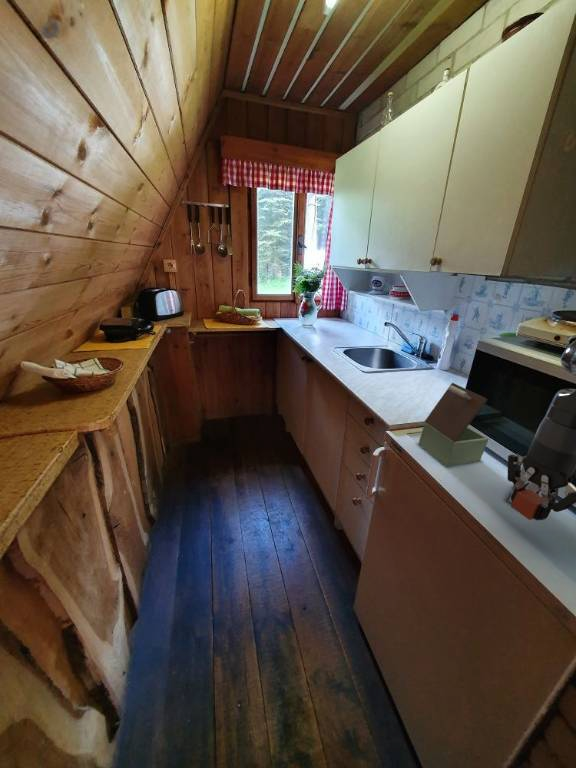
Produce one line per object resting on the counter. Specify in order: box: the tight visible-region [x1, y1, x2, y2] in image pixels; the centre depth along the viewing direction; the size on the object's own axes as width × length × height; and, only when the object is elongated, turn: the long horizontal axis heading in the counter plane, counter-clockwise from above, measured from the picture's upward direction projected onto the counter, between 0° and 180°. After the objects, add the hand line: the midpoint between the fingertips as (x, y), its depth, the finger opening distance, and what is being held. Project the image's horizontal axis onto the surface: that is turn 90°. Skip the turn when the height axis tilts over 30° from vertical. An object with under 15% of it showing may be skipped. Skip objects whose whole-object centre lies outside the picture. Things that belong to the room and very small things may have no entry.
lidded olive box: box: [417, 422, 490, 467], centre depth 94 cm, size 14×12×8 cm
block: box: [510, 489, 542, 521], centre depth 65 cm, size 4×4×4 cm
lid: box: [424, 382, 488, 442], centre depth 88 cm, size 14×12×5 cm
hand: (526, 510), depth 66 cm, fingers closed on block, 4 cm apart
